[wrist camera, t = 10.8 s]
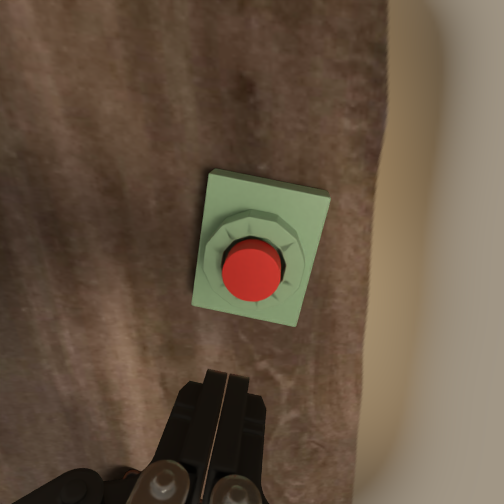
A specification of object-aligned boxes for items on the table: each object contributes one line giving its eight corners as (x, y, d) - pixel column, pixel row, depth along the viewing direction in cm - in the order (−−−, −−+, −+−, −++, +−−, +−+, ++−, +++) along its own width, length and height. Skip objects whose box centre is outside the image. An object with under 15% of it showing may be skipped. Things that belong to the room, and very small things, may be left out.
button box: (295, 311, 28) (296, 342, 25) (198, 291, 28) (184, 318, 25) (327, 190, 24) (334, 204, 21) (215, 168, 25) (202, 178, 21)
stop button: (274, 293, 24) (274, 307, 22) (222, 282, 24) (217, 295, 22) (286, 245, 22) (286, 255, 21) (230, 233, 22) (226, 243, 21)
